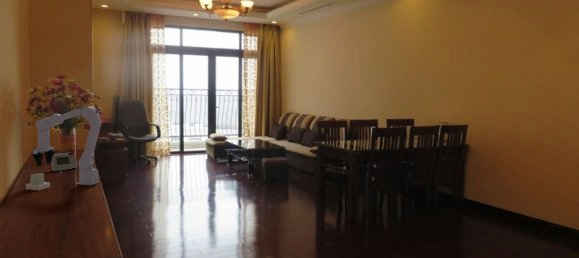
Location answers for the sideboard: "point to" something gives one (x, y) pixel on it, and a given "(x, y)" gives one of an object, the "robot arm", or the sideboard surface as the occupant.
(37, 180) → the green block
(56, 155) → the digital clock
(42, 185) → the grey base
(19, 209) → the sideboard surface
